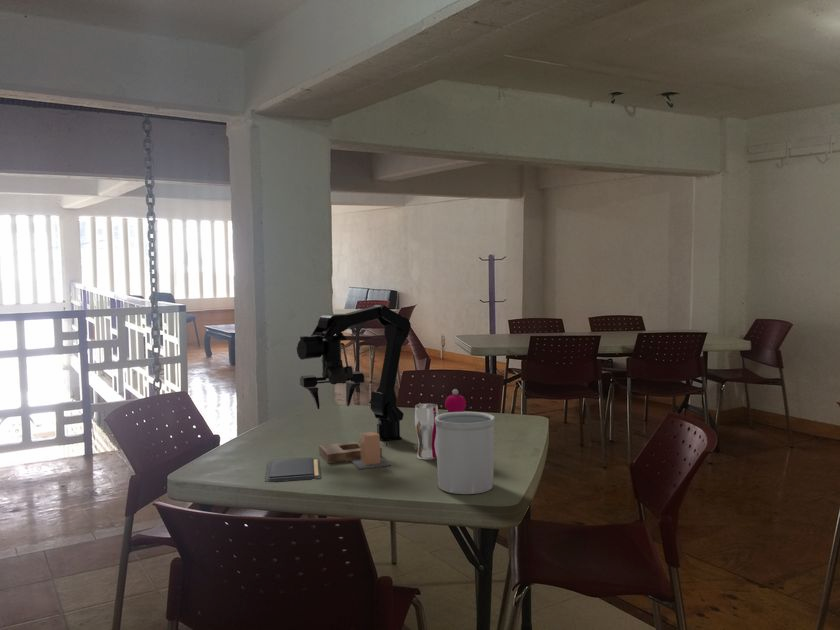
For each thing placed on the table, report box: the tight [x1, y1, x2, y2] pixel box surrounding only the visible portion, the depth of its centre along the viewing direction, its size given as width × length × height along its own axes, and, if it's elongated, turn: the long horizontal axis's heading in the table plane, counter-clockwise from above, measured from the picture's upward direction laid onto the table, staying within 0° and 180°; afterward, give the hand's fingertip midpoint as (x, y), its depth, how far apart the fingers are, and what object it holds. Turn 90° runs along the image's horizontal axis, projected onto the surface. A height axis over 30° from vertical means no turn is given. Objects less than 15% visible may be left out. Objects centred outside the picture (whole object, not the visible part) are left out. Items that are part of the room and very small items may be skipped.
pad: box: [350, 456, 391, 470], centre depth 196 cm, size 9×9×1 cm
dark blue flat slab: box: [264, 457, 322, 483], centre depth 190 cm, size 20×2×15 cm
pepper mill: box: [444, 388, 467, 413], centre depth 198 cm, size 7×7×20 cm
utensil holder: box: [435, 411, 496, 495], centre depth 173 cm, size 15×15×18 cm
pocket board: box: [318, 440, 383, 464], centre depth 204 cm, size 16×11×3 cm
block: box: [359, 431, 381, 465], centre depth 195 cm, size 4×4×8 cm
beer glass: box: [413, 403, 439, 461], centre depth 201 cm, size 7×7×15 cm
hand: (333, 407), depth 211 cm, fingers open, 9 cm apart
